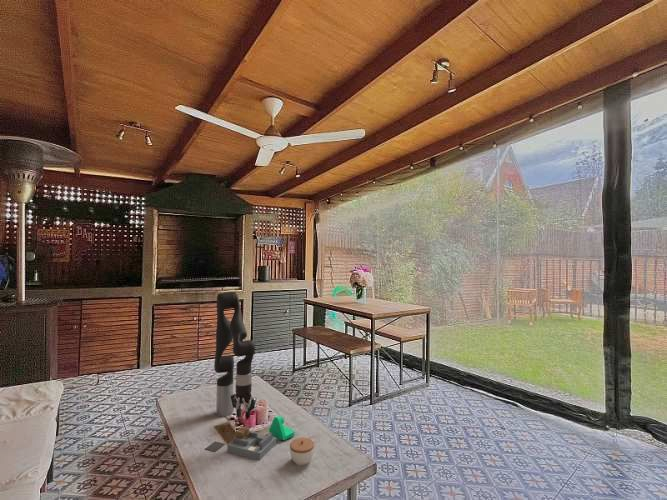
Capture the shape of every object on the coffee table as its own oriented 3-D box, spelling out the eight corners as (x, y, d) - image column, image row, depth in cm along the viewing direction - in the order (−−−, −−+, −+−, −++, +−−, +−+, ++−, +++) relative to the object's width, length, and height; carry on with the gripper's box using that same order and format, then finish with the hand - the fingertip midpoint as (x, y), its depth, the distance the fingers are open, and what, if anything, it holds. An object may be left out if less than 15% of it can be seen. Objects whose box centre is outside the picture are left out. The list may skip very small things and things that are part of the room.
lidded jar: (291, 454, 154) (292, 433, 154) (314, 454, 153) (315, 434, 154) (288, 468, 143) (288, 446, 143) (312, 469, 143) (312, 447, 143)
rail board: (245, 436, 168) (245, 424, 169) (276, 443, 162) (276, 431, 162) (227, 451, 155) (227, 438, 156) (260, 459, 149) (260, 446, 149)
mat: (215, 441, 164) (215, 441, 164) (225, 444, 161) (225, 443, 161) (204, 449, 157) (204, 448, 157) (215, 452, 155) (215, 451, 155)
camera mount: (295, 436, 169) (295, 416, 169) (283, 442, 164) (283, 421, 164) (280, 428, 177) (281, 409, 178) (269, 433, 172) (269, 413, 172)
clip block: (242, 435, 164) (242, 426, 164) (249, 437, 162) (249, 428, 162) (236, 440, 159) (236, 431, 159) (242, 442, 158) (243, 432, 158)
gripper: (260, 381, 163) (260, 416, 162) (236, 377, 168) (235, 411, 167) (251, 387, 156) (250, 423, 155) (226, 382, 161) (226, 418, 160)
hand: (243, 417), depth 161 cm, fingers open, 4 cm apart
